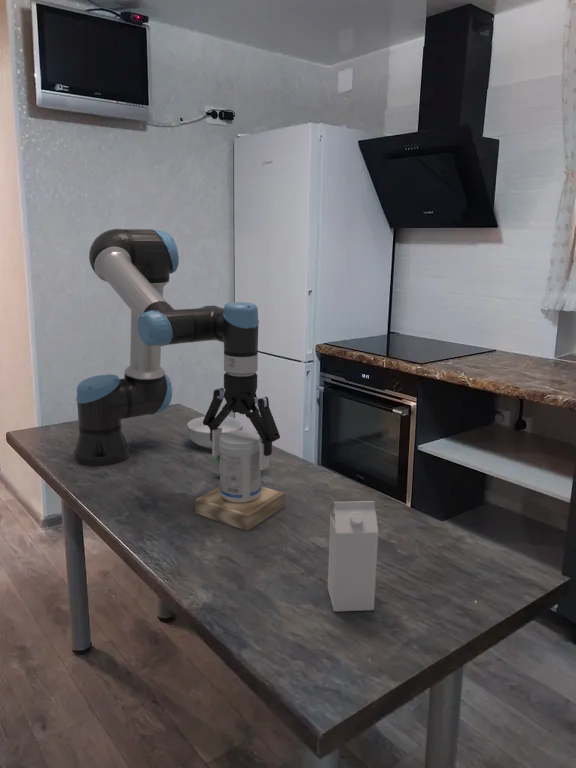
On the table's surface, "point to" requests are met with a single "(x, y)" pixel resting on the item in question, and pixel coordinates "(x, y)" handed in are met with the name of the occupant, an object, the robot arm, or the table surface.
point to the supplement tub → (240, 466)
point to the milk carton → (352, 556)
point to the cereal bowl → (202, 432)
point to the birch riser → (240, 508)
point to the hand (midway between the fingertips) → (240, 461)
